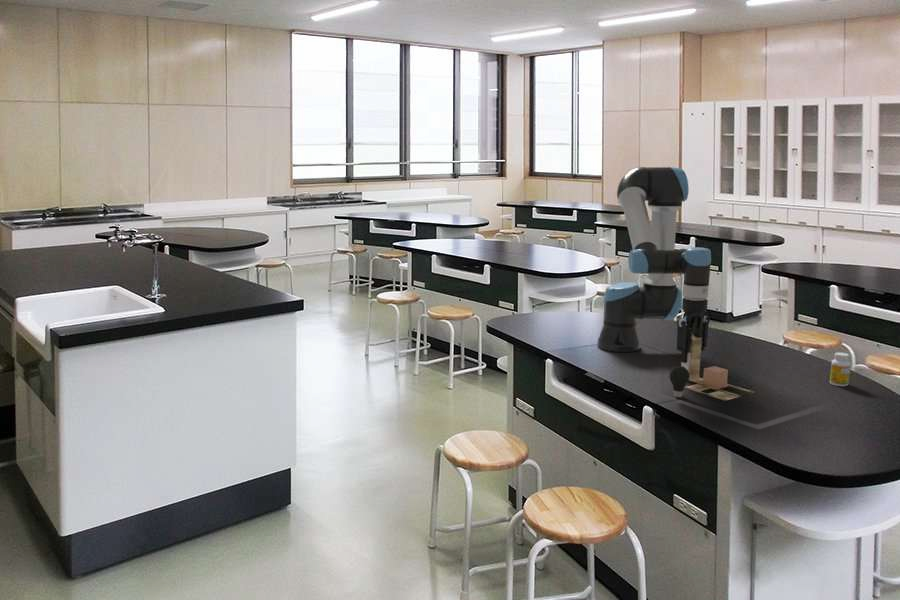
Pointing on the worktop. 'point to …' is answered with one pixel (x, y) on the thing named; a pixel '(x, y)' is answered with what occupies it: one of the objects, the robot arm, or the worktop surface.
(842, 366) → the supplement bottle
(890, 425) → the worktop surface
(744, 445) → the worktop surface
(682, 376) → the light bulb
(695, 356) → the tan boxy piece
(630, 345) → the robot arm
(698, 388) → the broken strip
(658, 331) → the worktop surface
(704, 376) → the terracotta cube
